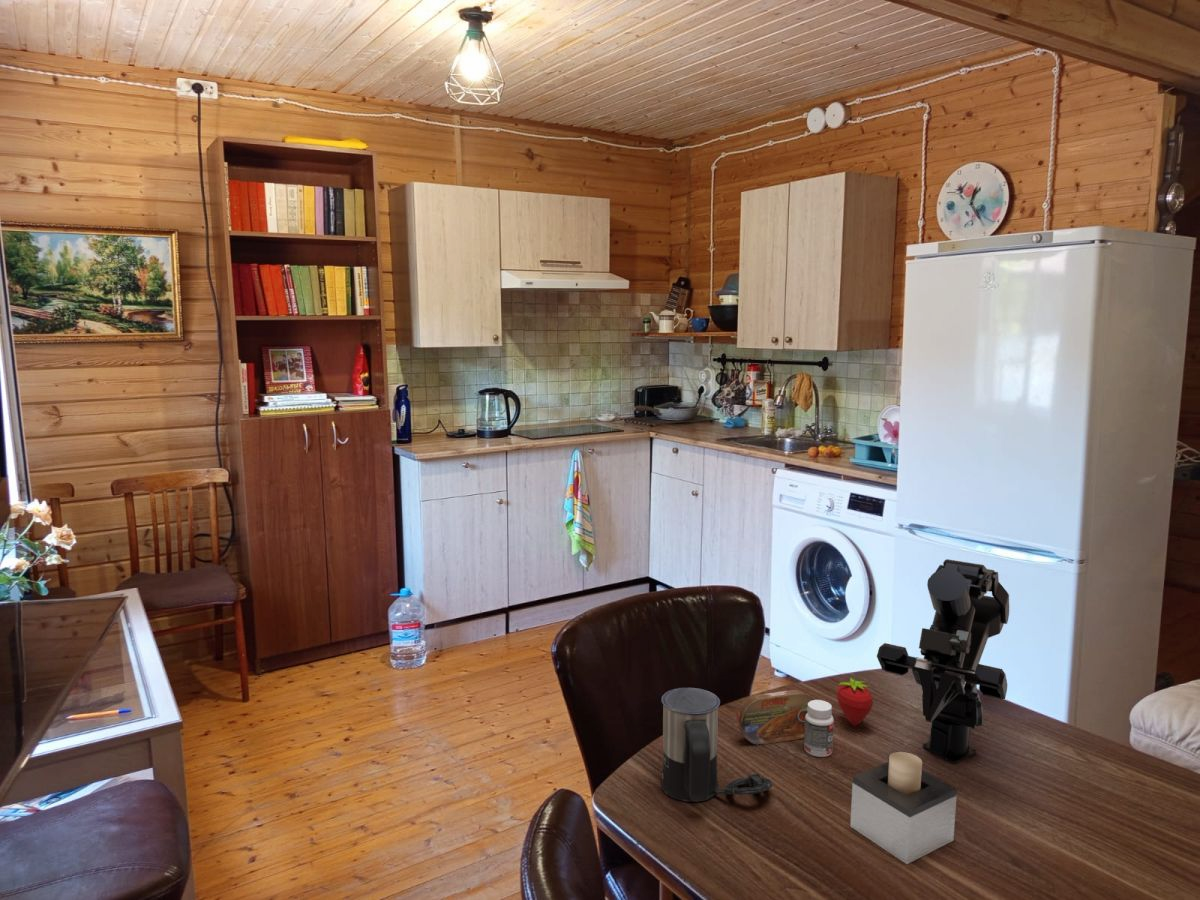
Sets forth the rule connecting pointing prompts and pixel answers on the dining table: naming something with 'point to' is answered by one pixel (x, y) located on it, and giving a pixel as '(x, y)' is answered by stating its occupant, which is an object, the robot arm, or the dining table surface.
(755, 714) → the tin
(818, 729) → the pill bottle
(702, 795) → the milk frother
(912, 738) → the dining table surface
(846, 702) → the strawberry
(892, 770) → the peg
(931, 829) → the collar
